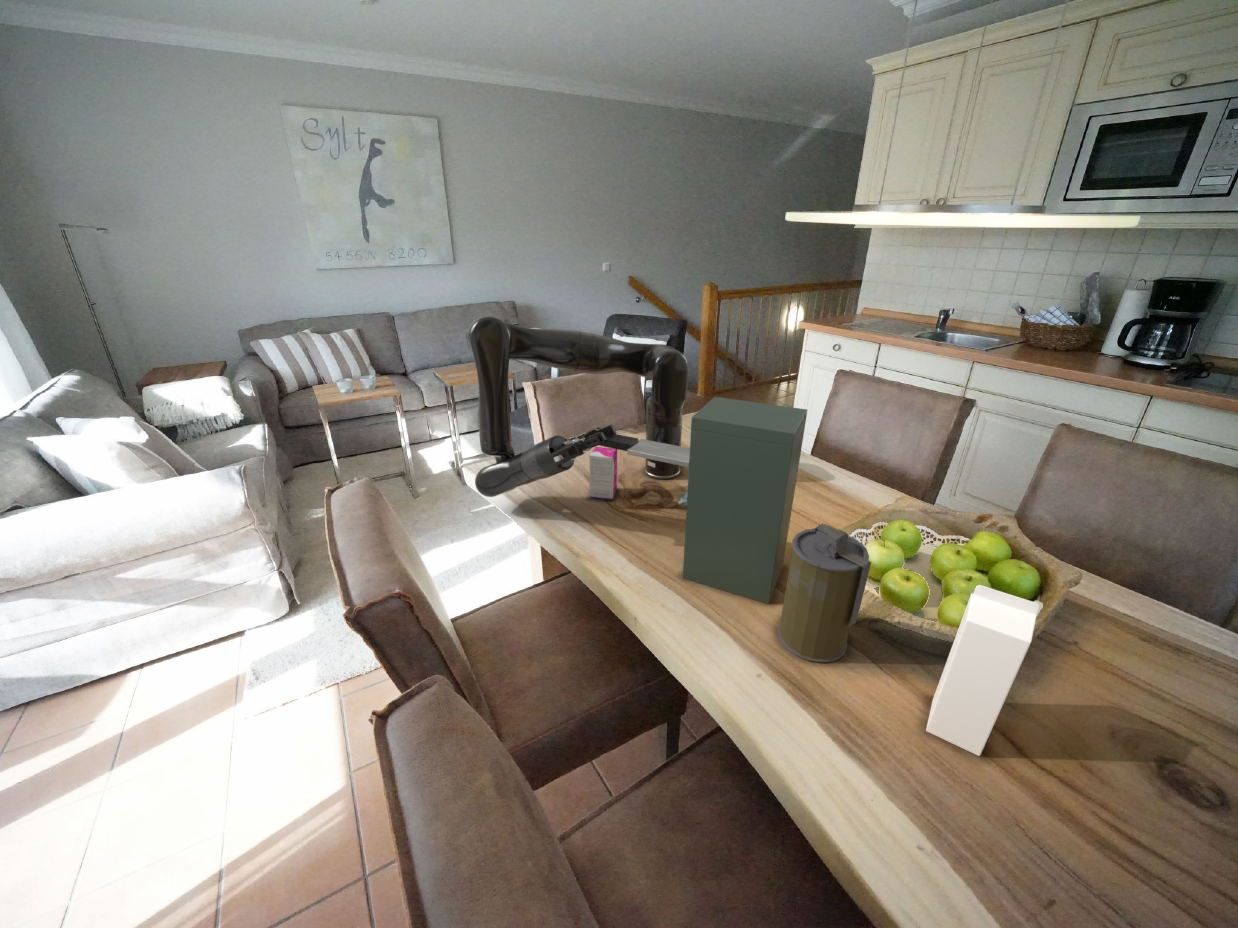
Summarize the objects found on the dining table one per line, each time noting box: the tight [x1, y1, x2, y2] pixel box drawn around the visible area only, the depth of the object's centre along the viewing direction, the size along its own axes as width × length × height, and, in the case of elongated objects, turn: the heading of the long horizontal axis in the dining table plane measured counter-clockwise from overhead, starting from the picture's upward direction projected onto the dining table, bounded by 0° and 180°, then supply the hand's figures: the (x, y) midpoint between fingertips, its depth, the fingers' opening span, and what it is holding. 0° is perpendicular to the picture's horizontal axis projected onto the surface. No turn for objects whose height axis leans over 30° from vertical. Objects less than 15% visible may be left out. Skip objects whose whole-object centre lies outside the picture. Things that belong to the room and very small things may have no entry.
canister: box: [777, 523, 872, 663], centre depth 77 cm, size 11×10×20 cm
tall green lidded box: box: [682, 396, 808, 605], centre depth 90 cm, size 12×16×32 cm
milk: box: [925, 584, 1041, 757], centre depth 62 cm, size 6×6×22 cm
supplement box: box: [588, 446, 618, 501], centre depth 122 cm, size 6×6×12 cm
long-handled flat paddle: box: [584, 429, 690, 468], centre depth 95 cm, size 6×22×2 cm, turn 62°
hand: (608, 433), depth 97 cm, fingers closed on long-handled flat paddle, 3 cm apart
